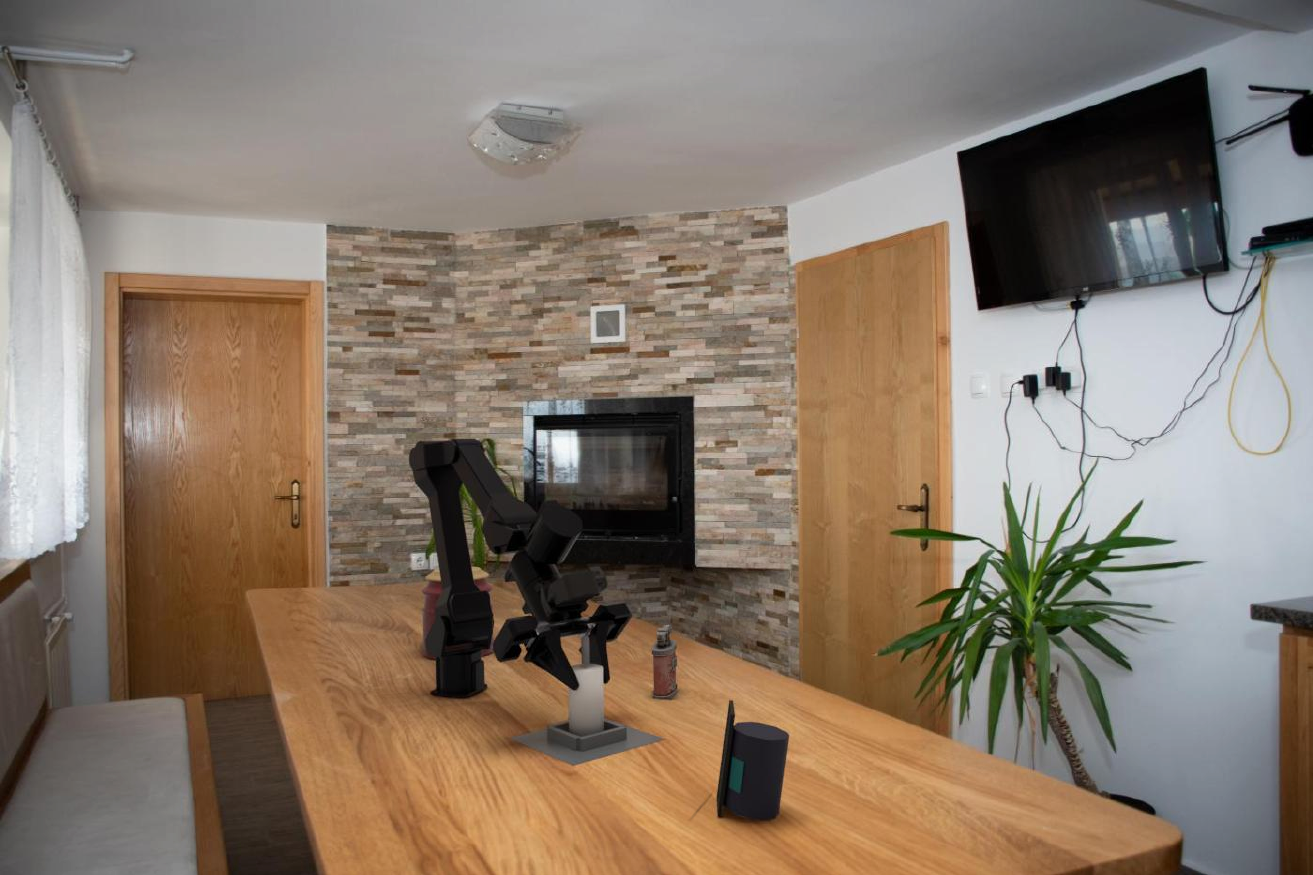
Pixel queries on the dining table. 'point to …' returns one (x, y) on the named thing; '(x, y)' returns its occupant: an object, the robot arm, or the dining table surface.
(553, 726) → the dock
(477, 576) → the canister
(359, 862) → the dining table surface
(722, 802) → the speaker
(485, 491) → the robot arm
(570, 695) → the plug
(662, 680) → the lighter
